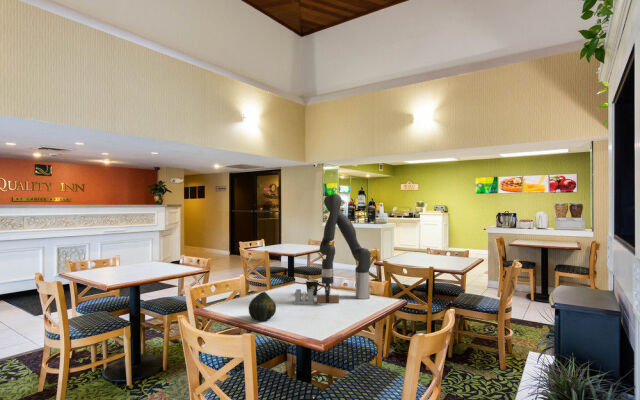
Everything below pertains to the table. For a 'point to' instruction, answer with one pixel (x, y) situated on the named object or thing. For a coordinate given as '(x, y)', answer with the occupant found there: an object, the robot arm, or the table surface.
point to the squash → (262, 307)
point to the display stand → (303, 300)
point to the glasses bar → (332, 299)
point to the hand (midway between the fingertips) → (327, 301)
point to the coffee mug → (312, 286)
